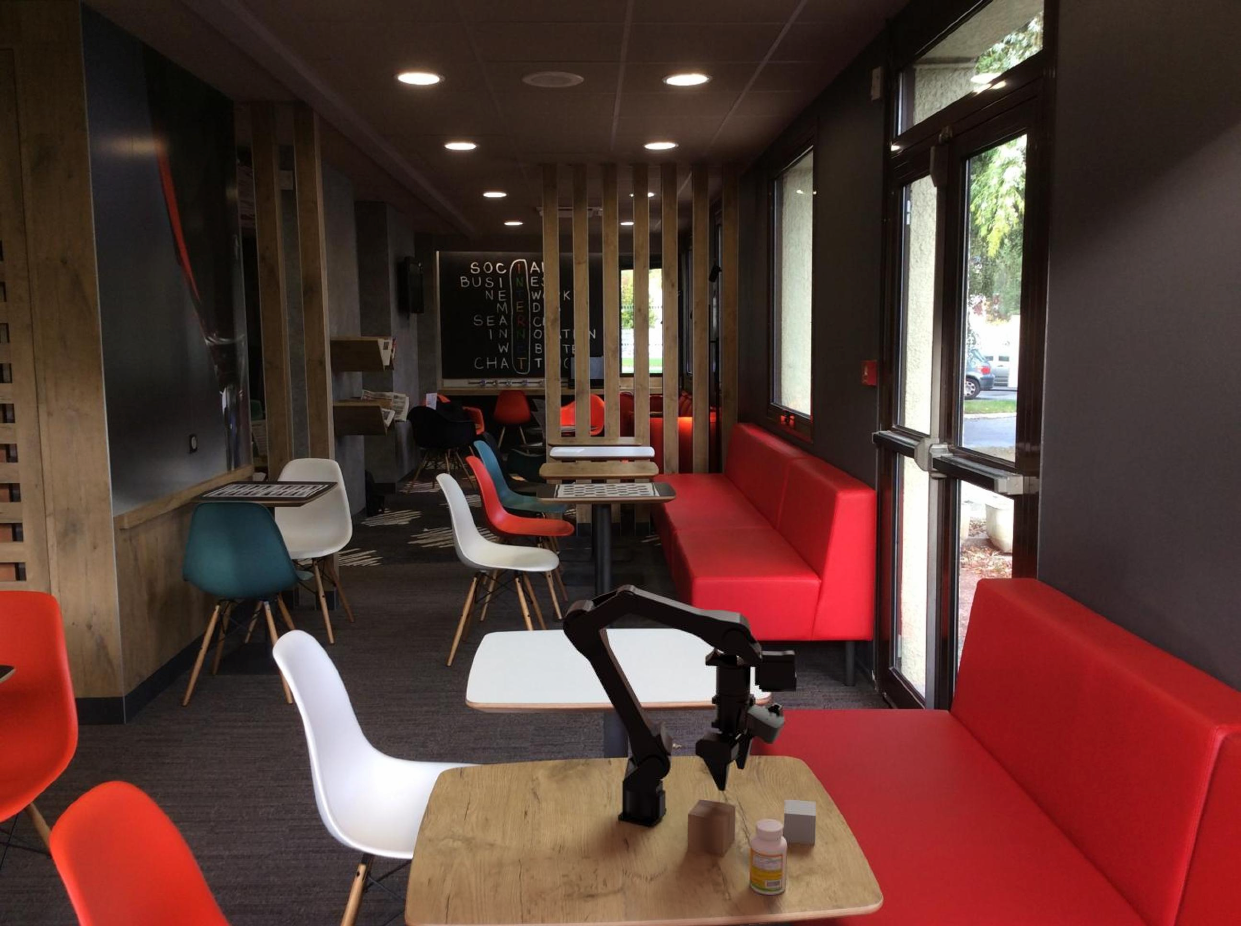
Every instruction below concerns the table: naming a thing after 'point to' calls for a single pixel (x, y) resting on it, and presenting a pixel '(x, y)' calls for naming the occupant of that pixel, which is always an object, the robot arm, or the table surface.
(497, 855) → the table surface
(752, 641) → the robot arm
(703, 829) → the walnut cube
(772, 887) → the supplement bottle
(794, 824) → the grey cube
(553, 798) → the table surface
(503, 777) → the table surface
